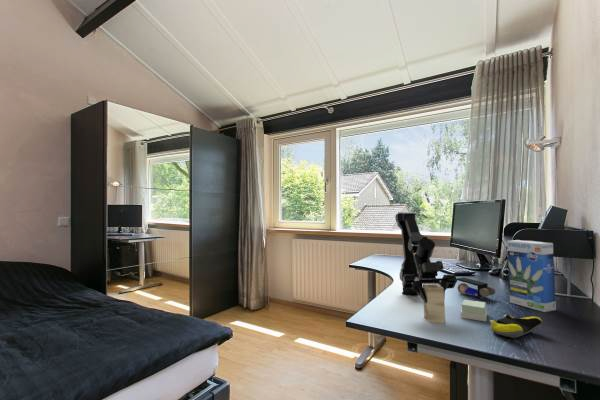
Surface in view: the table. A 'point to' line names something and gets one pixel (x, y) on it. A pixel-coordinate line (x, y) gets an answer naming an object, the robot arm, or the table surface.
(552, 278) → the string lights box
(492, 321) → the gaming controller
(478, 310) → the top slab
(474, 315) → the bottom slab
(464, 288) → the figurine character
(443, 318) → the maple block
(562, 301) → the table surface
